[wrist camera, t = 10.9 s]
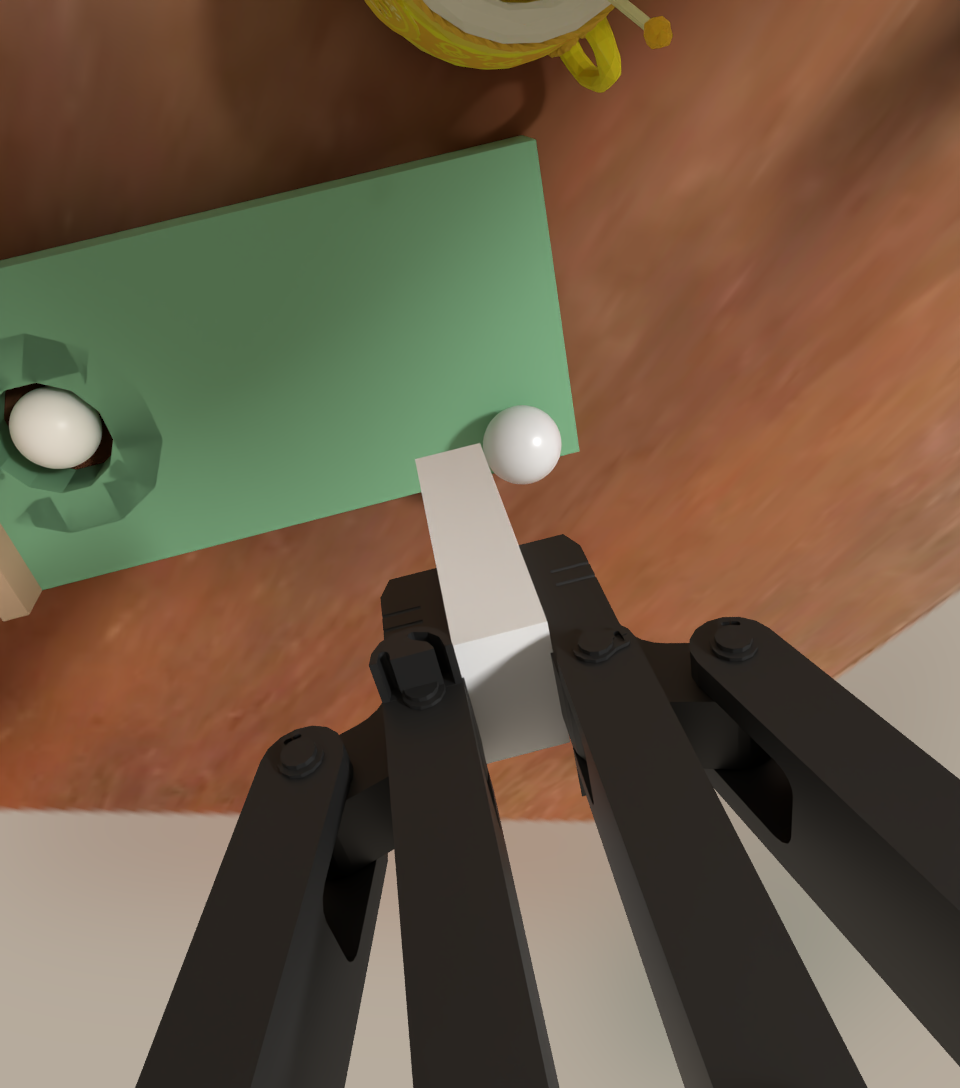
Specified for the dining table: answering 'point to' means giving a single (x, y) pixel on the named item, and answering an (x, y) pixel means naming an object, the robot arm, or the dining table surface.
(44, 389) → the ball
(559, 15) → the mug
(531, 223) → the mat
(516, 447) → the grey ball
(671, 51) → the dining table surface
